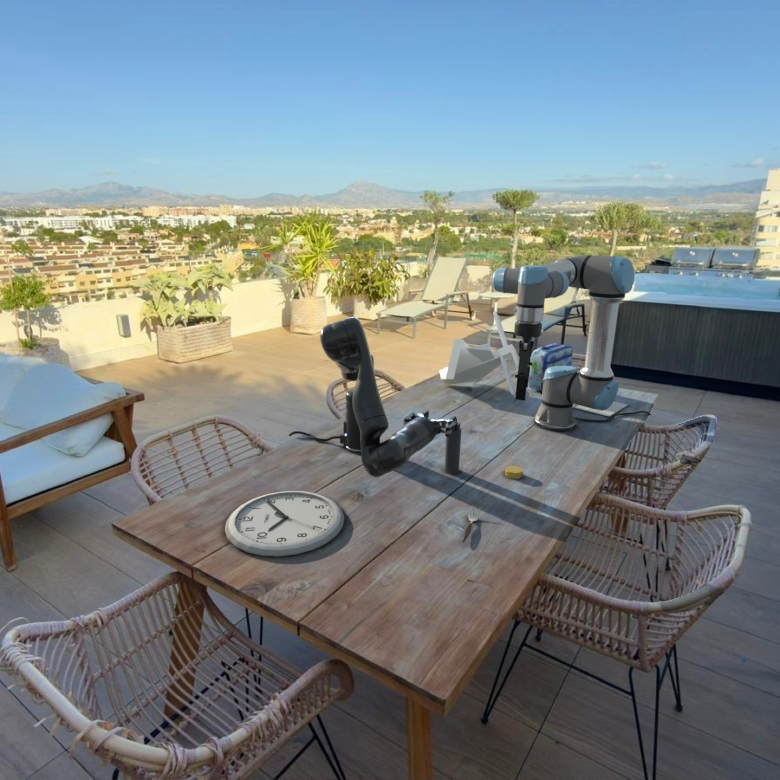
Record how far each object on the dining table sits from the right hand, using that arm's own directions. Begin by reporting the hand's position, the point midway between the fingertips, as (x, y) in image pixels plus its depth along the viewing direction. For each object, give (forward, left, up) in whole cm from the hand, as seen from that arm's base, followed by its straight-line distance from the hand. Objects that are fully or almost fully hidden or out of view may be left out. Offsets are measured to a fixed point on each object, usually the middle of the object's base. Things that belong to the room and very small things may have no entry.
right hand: (521, 393), depth 154 cm
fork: (+14, +32, -27) cm, 44 cm away
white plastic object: (+7, -84, -27) cm, 89 cm away
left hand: (+23, +10, -5) cm, 26 cm away
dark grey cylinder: (+19, 0, -27) cm, 33 cm away
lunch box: (-27, -98, -27) cm, 105 cm away
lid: (0, 0, -25) cm, 25 cm away
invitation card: (-45, -72, -27) cm, 89 cm away
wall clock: (+61, +36, -27) cm, 76 cm away
